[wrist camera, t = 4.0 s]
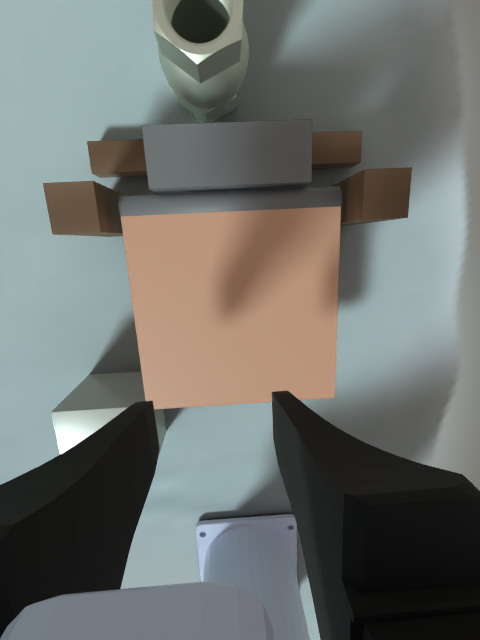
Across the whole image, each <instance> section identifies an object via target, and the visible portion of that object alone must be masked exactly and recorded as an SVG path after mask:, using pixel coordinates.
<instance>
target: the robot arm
mask: <svg viewBox="0 0 480 640" xmlns="http://www.w3.org/2000/svg"><path fill="white" fill-rule="evenodd" d="M272 412H273V438H274V444H275V450H276V455H277V461H278V465H279V468H280V472H281V475H282V478H283V481H284V484H285V488H286V491H287V494H288V497H289V500H290V504H291V507H292V510H293V513H294V515H293V514H283V515H270V516H257V517H244V518H230V519H217V520H204V521H199V522H198V523H197V524H196V536H197V545H198V555H199V565H200V575H201V582H195V583H184V584H173V585H163V586H152V587H141V588H130V589H120V588H121V584H122V579H123V575H124V571H125V567H126V563H127V558H128V554H129V550H130V546H131V543H132V540H133V536H134V533H135V530H136V527H137V524H138V521H139V518H140V515H141V512H142V510H143V507H144V504H145V501H146V498H147V495H148V492H149V489H150V486H151V483H152V480H153V477H154V474H155V469H156V465H157V460H158V454H159V449H160V447H159V440H158V433H157V426H156V419H155V413H154V406H153V401H142V402H136V403H134V404H132V405H131V406H129V407H128V408H127V409H125V410H124V411H123V412H121V413H120V414H119V415H117V416H116V417H115V418H113V419H112V420H111V421H109V422H108V423H107V424H105V425H104V426H103V427H101V428H100V429H99V430H97V431H96V432H94V433H93V434H91V435H90V436H88V437H87V438H85V439H84V440H82V441H81V442H80V443H78V444H77V445H75V446H74V447H72V448H70V449H69V450H67V451H66V452H64V453H62V454H60V455H59V456H57V457H55V458H53V459H52V460H50V461H48V462H46V463H45V464H43V465H41V466H39V467H37V468H35V469H33V470H31V471H29V472H27V473H25V474H23V475H21V476H19V477H17V478H14V479H12V480H10V481H8V482H6V483H4V484H1V485H0V640H310V638H309V633H308V629H307V624H306V619H305V614H304V610H303V605H302V600H301V595H300V591H299V586H298V581H297V527H298V531H299V535H300V540H301V544H302V549H303V554H304V558H305V563H306V568H307V573H308V578H309V583H310V588H311V593H312V597H313V602H314V607H315V613H316V618H317V623H318V628H319V633H320V638H321V640H480V491H479V490H478V489H477V488H476V487H475V486H474V485H473V484H472V483H471V482H470V481H469V480H468V479H467V478H466V477H465V476H463V475H462V474H458V473H454V472H450V471H447V470H443V469H439V468H435V467H431V466H427V465H423V464H420V463H417V462H414V461H411V460H408V459H405V458H402V457H399V456H396V455H393V454H391V453H388V452H385V451H383V450H381V449H378V448H376V447H374V446H371V445H369V444H367V443H365V442H362V441H360V440H358V439H356V438H355V437H353V436H351V435H349V434H347V433H345V432H343V431H342V430H340V429H338V428H337V427H335V426H334V425H332V424H331V423H329V422H327V421H326V420H324V419H323V418H322V417H320V416H319V415H317V414H316V413H315V412H313V411H312V410H311V409H310V408H308V407H307V406H306V405H305V404H303V403H302V402H301V401H300V400H299V399H297V398H296V397H295V396H294V395H293V394H292V393H290V392H289V391H275V392H272ZM290 525H292V526H290ZM201 532H205V533H201Z"/></svg>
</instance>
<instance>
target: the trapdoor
mask: <svg viewBox="0 0 480 640" xmlns="http://www.w3.org/2000/svg"><path fill="white" fill-rule="evenodd" d="M142 132H143V141H144V150H145V159H146V168H147V177H148V186H149V189H150V190H152V191H153V192H154V193H156V194H152V195H130V196H120V197H119V201H118V206H119V213H120V216H121V223H122V231H123V238H124V245H125V253H126V260H127V268H128V275H129V282H130V290H131V297H132V304H133V312H134V319H135V327H136V334H137V341H138V349H139V356H140V364H141V371H142V378H143V386H144V393H145V400H146V401H153V406H154V409H167V408H182V407H198V406H213V405H229V404H244V403H260V402H272V392H275V391H289V392H290V393H292V394H293V395H294V396H295V397H296V398H297V399H299V400H306V399H322V398H335V380H336V348H337V316H338V284H339V252H340V220H341V203H342V191H341V188H340V187H339V186H334V187H311V188H303V187H305V186H306V185H307V184H309V183H310V182H312V119H301V120H274V121H247V122H221V123H194V124H167V125H142Z"/></svg>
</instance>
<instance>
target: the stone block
mask: <svg viewBox="0 0 480 640" xmlns="http://www.w3.org/2000/svg"><path fill="white" fill-rule="evenodd" d="M142 401H146V400H145V393H144V386H143V378H142V371H134V372H118V373H102V374H89V375H88V376H87V377H86V378H85V379H84V380H83V381H82V382H81V383H80V384H79V385H78V386H77V387H76V388H75V389H74V390H73V391H72V392H71V393H70V394H69V395H68V396H67V397H66V398H65V399H64V400H63V401H62V402H61V403H60V404H59V405H58V406H57V407H56V408H55V409H54V410H53V411H52V412H51V415H52V419H53V424H54V428H55V433H56V437H57V442H58V446H59V450H60V454H62V453H64V452H66V451H67V450H69V449H70V448H72V447H74V446H75V445H77V444H78V443H80V442H81V441H82V440H84V439H85V438H87V437H88V436H90V435H91V434H93V433H94V432H96V431H97V430H99V429H100V428H101V427H103V426H104V425H105V424H107V423H108V422H109V421H111V420H112V419H113V418H115V417H116V416H117V415H119V414H120V413H121V412H123V411H124V410H125V409H127V408H128V407H129V406H131V405H132V404H134V403H136V402H142ZM154 413H155V419H156V426H157V433H158V440H159V447H160V449H159V453H160V450H161V447H162V443H163V440H164V437H165V434H166V431H167V430H166V422H165V413H164V409H154ZM158 456H159V454H158Z"/></svg>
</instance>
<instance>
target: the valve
mask: <svg viewBox="0 0 480 640" xmlns="http://www.w3.org/2000/svg"><path fill="white" fill-rule="evenodd" d="M243 1H244V0H153V29H154V33H155V36H156V39H157V42H158V52H159V59H160V63H161V67H162V70H163V73H164V75H165V77H166V79H167V81H168V83H169V85H170V86H171V88H172V89H173V90H174V92H175V94H176V97H177V100H178V103H179V104H180V105H181V106H183V107H184V108H185V109H187V110H188V111H189V112H191V113H192V114H193V115H195V116H196V117H198V118H199V119H200V120H202V121H203V122H204V123H211V122H213V121H214V120H216V119H218V118H220V117H222V116H224V115H225V114H227V113H229V112H231V111H233V110H234V109H236V105H237V92H238V90H239V89H240V87H241V86H242V83H243V81H244V79H245V76H246V72H247V69H248V62H249V42H248V36H247V32H246V28H245V25H244V23H243Z"/></svg>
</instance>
